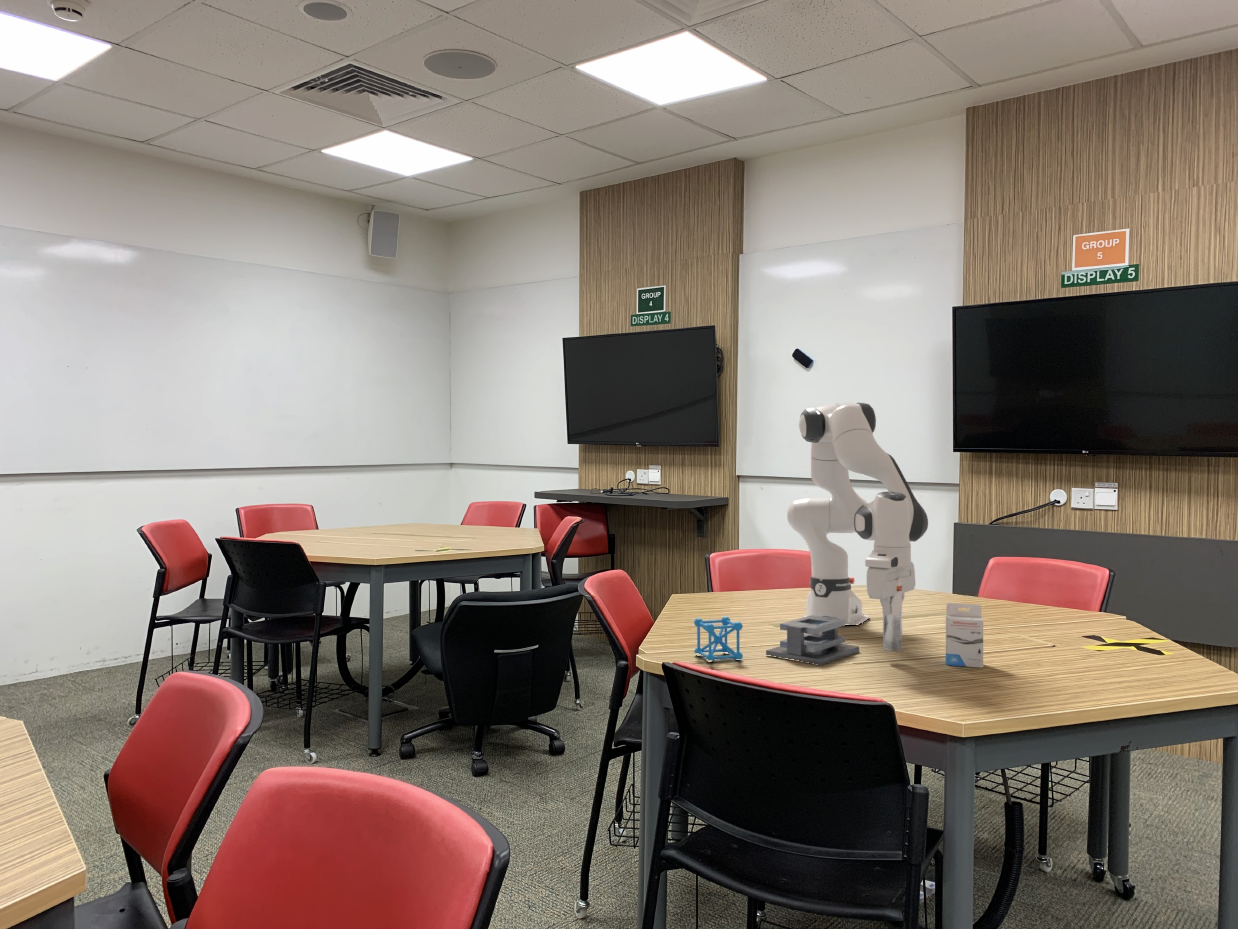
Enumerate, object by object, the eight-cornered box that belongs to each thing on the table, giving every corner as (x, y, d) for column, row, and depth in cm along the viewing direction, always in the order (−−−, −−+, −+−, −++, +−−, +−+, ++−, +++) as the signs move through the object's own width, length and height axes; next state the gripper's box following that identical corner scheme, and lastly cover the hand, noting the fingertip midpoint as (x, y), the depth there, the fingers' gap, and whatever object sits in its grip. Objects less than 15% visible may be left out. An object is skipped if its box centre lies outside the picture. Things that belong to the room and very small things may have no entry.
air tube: (887, 646, 218) (887, 575, 217) (905, 648, 214) (905, 577, 214) (879, 649, 214) (879, 577, 214) (897, 652, 211) (897, 579, 211)
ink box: (946, 665, 211) (945, 605, 211) (945, 661, 216) (945, 602, 216) (983, 668, 208) (983, 607, 208) (982, 663, 213) (982, 604, 213)
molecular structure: (744, 661, 217) (744, 622, 217) (707, 664, 214) (707, 624, 214) (728, 653, 227) (728, 615, 227) (692, 655, 224) (692, 617, 224)
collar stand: (805, 643, 237) (805, 613, 237) (859, 652, 226) (859, 620, 226) (766, 656, 223) (765, 623, 222) (821, 665, 212) (821, 631, 212)
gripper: (898, 552, 224) (898, 605, 224) (861, 560, 209) (861, 617, 209) (921, 554, 220) (921, 608, 220) (886, 562, 204) (886, 620, 205)
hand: (892, 612), depth 214 cm, fingers closed on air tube, 4 cm apart
